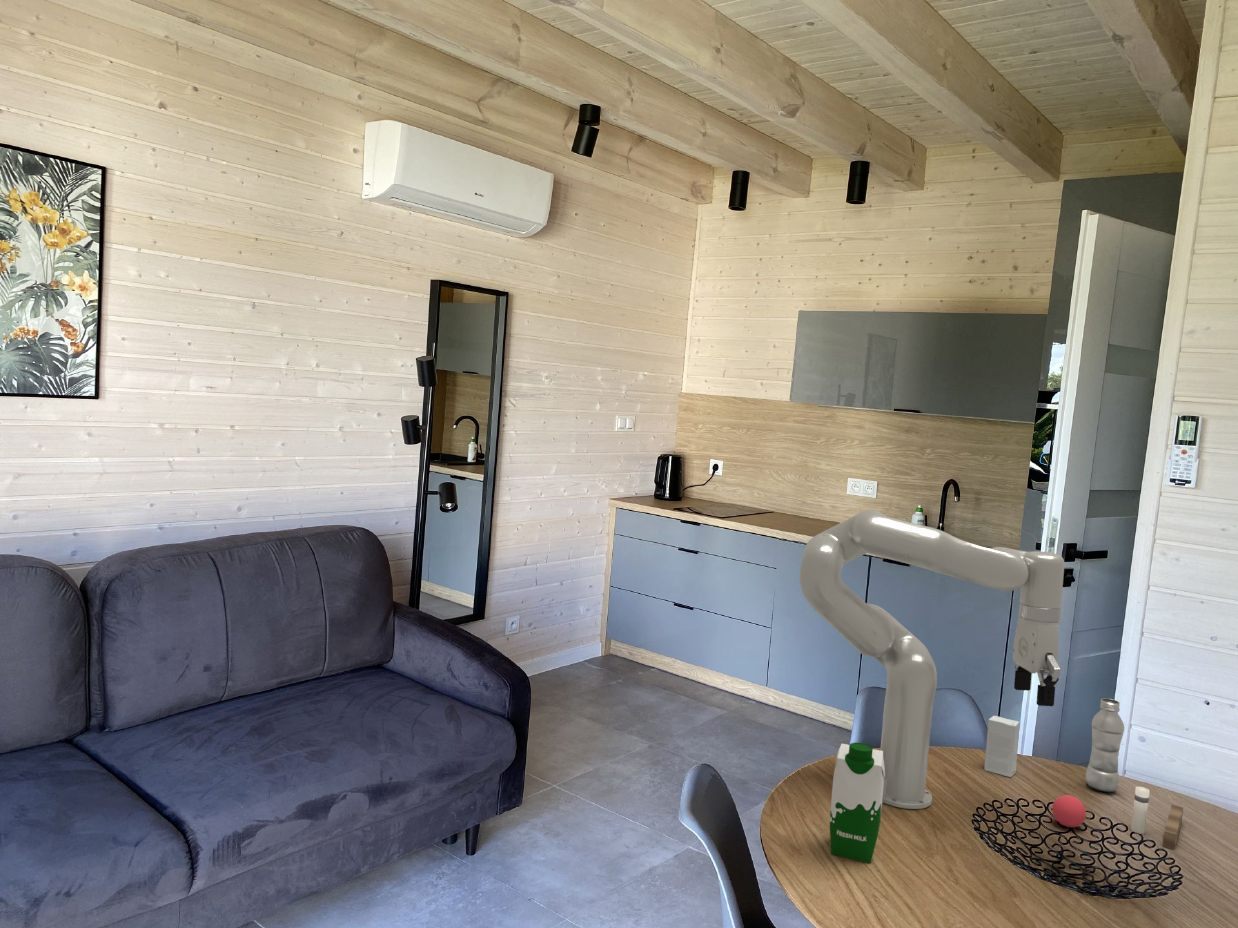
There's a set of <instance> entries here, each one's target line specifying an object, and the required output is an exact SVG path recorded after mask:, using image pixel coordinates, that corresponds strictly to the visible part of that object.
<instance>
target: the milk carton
mask: <svg viewBox="0 0 1238 928" xmlns="http://www.w3.org/2000/svg"><path fill="white" fill-rule="evenodd" d="M883 774H884V775H883ZM884 777H885V767H884V759H883V751H880V750H879V749H875V748H874V749H873V747H872V746H871V745H869V744H866V743H863V742H851V743H850V744H847V743H841V744H840V747H839V748H838V751H837V754H836V758H835V763H834V772H833V778H832V790H831V799H830V800H831V801H830V811H829V836H830V837H829V840H830V842H829V843H830V854H831V855H832V856H836V857H841V858H846V859H850V860H855V861H859V862H863V863H868V864H872V860H873V856H874V852H875V848H876V844H877V841H878V836H879V832H880V825H881V819H882V806H883V802H882V798H883V785H884Z"/></svg>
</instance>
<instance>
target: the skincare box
mask: <svg viewBox="0 0 1238 928" xmlns="http://www.w3.org/2000/svg"><path fill="white" fill-rule="evenodd" d="M1020 725H1021V722H1020V721H1018V720H1013V719H1008V718H1005V717H1002V716H997V715H993V716H991V717H990V718H989V719H988V720H987V733H986V734H987V735H986V742H985V743H986V745H985V753H984V754H985V755H984V756H985V757H984V766H983V767H984V768H983V770H984V771H986V772H990V773H994V774H998V775H1001V776H1004V777H1008V778H1012V777H1013V776H1014V775H1015V774H1016V771H1017V762H1018V749H1019V739H1020Z"/></svg>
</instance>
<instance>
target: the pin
mask: <svg viewBox="0 0 1238 928" xmlns="http://www.w3.org/2000/svg"><path fill="white" fill-rule="evenodd" d="M1149 801H1150V789H1148V788H1146V787H1144V786H1138V785H1137V786H1135V790H1134V800H1133V809H1132V818H1131V819H1132V820H1131V829H1130V830H1131V831H1132V832H1134V833H1136V834H1140V835H1144V834H1145V833H1146V827H1147V817H1148V816H1147V815H1148V810H1149V809H1148V808H1149Z"/></svg>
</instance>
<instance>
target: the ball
mask: <svg viewBox="0 0 1238 928" xmlns="http://www.w3.org/2000/svg"><path fill="white" fill-rule="evenodd" d="M1051 809H1052V814H1053V817H1054V819H1055V820H1056V821H1057V822H1058V823H1059V824H1061V825H1062V826H1065V827H1066V828H1067V827H1068V828H1077V827H1079V826H1081V825H1082V824H1083V823H1084V822H1085V820H1086V816H1087V811H1086V808H1085V805H1084V804H1083V802H1082V801H1081V800H1080V799H1078V798H1077V797H1075V796H1073V795H1070V794H1064V795H1060V796H1058V797H1056V798H1055V800H1054V801H1053V803H1052V807H1051Z"/></svg>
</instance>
